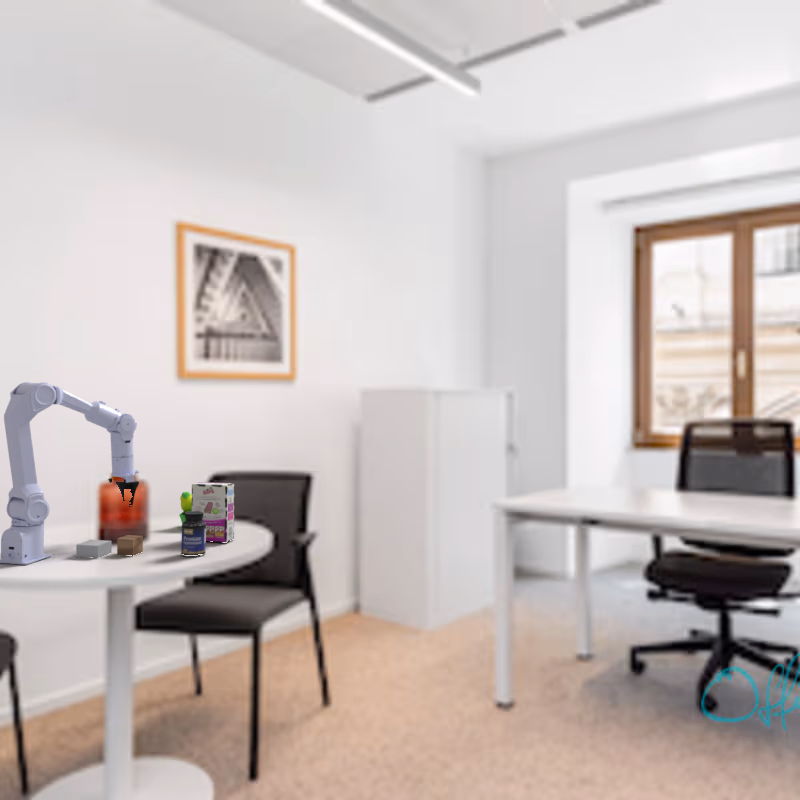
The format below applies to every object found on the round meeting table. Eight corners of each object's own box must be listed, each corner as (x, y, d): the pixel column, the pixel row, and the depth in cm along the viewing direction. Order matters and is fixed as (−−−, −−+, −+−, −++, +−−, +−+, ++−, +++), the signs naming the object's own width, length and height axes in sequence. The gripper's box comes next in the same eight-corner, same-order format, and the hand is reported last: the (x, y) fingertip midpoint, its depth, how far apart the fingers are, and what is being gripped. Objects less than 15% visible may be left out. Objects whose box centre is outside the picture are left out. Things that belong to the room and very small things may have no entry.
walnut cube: (133, 557, 180) (133, 539, 180) (117, 556, 181) (117, 538, 181) (142, 553, 185) (142, 535, 185) (127, 552, 186) (127, 535, 186)
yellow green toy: (203, 531, 213) (203, 494, 213) (174, 531, 213) (174, 494, 213) (213, 524, 225) (214, 489, 225) (185, 524, 225) (186, 488, 225)
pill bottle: (180, 558, 180) (181, 514, 179) (181, 552, 185) (182, 510, 185) (205, 556, 181) (206, 514, 181) (205, 551, 187) (206, 510, 187)
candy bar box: (234, 540, 202) (235, 483, 201) (226, 543, 197) (227, 485, 197) (199, 537, 204) (200, 481, 204) (190, 541, 199) (191, 483, 199)
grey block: (97, 559, 178) (98, 545, 178) (76, 558, 179) (76, 544, 179) (111, 554, 184) (111, 540, 184) (90, 553, 185) (90, 539, 185)
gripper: (144, 457, 193) (146, 506, 194) (130, 452, 205) (132, 498, 206) (117, 460, 189) (119, 510, 190) (104, 454, 201) (106, 502, 201)
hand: (124, 504), depth 197 cm, fingers open, 7 cm apart
